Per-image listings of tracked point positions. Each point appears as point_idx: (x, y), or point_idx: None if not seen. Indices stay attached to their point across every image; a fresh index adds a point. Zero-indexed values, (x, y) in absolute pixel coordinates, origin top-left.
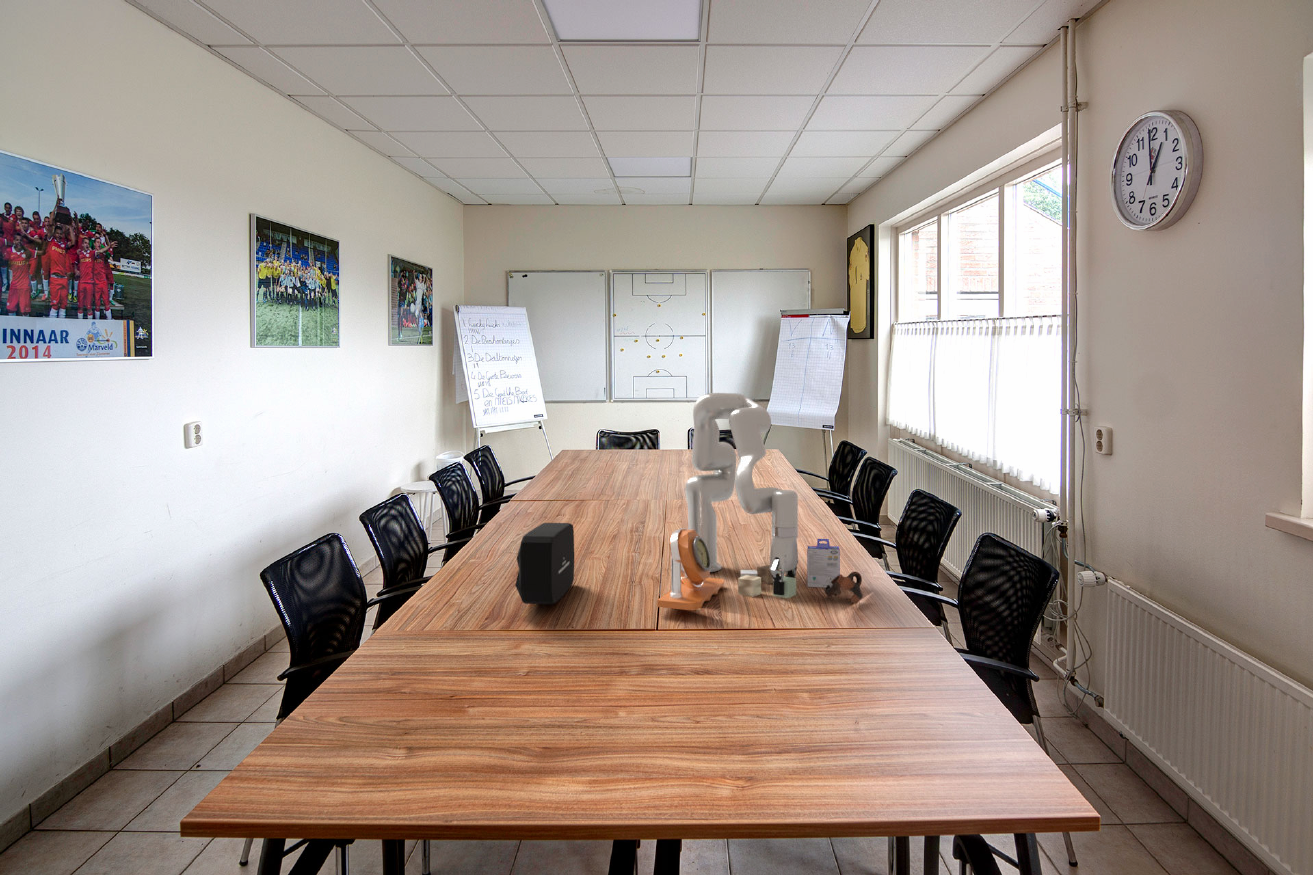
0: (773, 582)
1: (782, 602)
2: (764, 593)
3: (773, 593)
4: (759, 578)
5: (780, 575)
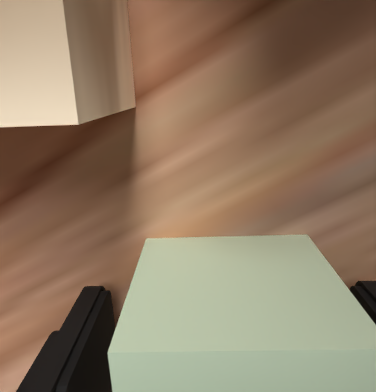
0: (36, 372)
1: (11, 382)
2: (161, 135)
3: (143, 250)
4: (19, 124)
5: None
